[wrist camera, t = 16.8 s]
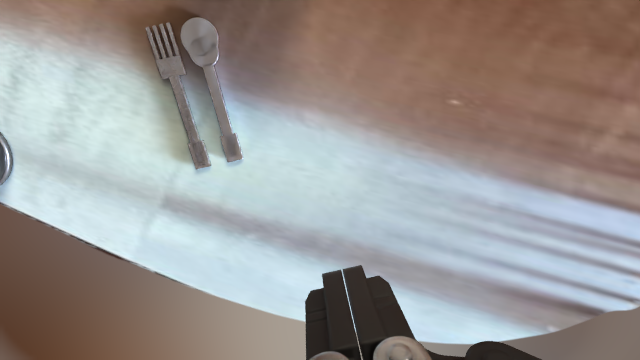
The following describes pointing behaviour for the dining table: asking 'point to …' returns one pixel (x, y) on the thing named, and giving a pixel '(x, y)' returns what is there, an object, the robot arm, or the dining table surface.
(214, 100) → the spoon
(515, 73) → the dining table surface
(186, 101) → the fork
